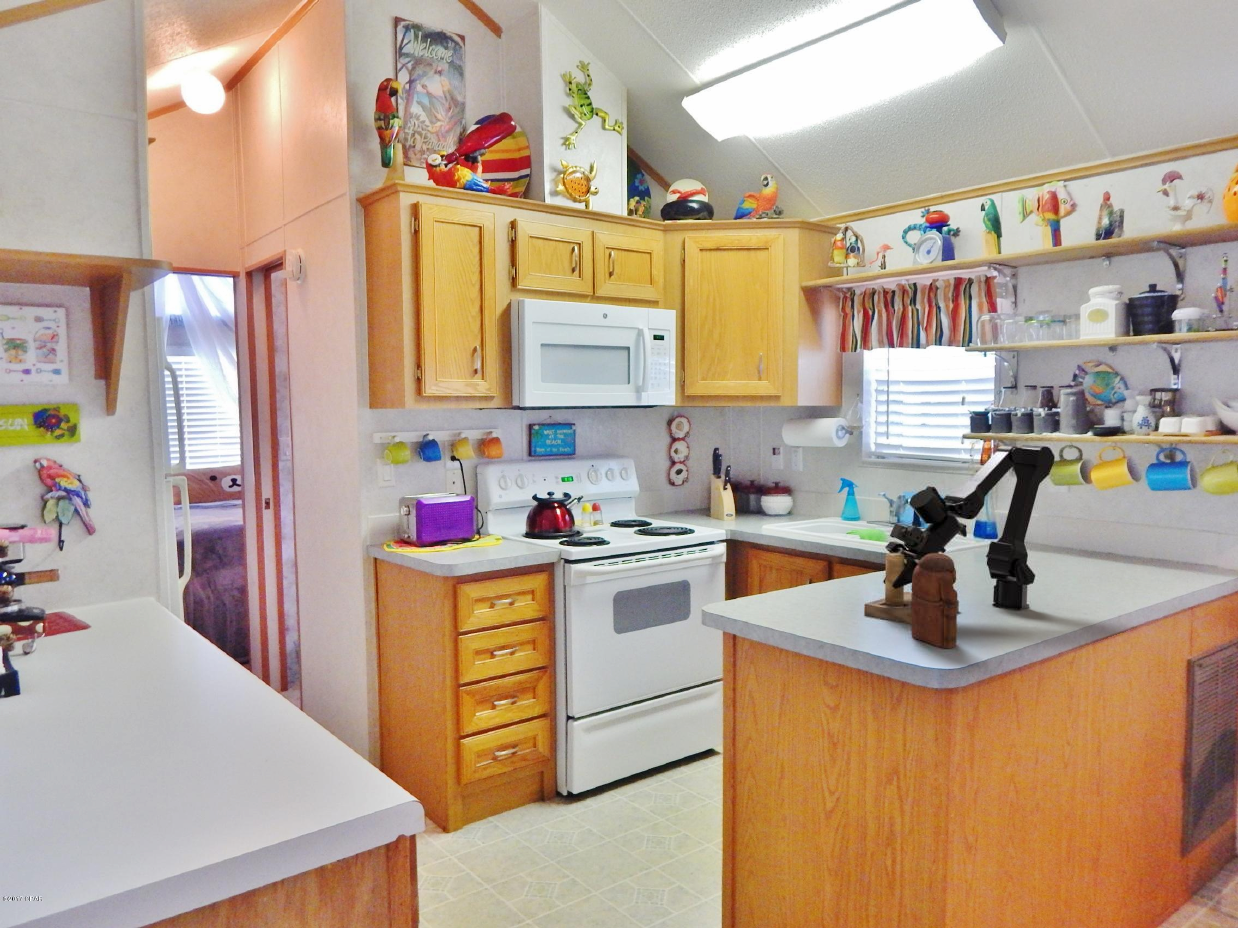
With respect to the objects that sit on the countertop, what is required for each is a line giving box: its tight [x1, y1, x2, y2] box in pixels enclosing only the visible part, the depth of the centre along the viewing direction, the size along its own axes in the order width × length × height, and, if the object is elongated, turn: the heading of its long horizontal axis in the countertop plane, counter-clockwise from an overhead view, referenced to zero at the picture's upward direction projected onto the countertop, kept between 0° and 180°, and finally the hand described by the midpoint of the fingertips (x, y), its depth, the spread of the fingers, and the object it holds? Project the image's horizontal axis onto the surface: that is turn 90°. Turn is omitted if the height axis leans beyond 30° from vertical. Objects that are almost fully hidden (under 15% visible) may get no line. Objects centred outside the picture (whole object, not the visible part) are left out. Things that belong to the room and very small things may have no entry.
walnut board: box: [863, 591, 960, 625], centre depth 200 cm, size 13×20×2 cm, turn 134°
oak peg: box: [884, 552, 905, 608], centre depth 196 cm, size 4×4×14 cm
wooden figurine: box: [910, 552, 959, 649], centre depth 174 cm, size 12×6×18 cm, turn 21°
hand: (888, 585), depth 196 cm, fingers closed on oak peg, 4 cm apart
